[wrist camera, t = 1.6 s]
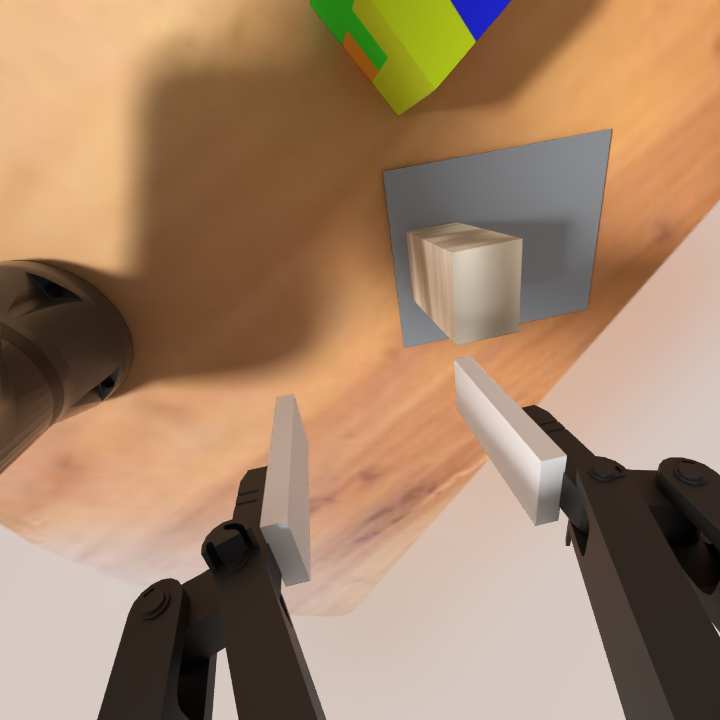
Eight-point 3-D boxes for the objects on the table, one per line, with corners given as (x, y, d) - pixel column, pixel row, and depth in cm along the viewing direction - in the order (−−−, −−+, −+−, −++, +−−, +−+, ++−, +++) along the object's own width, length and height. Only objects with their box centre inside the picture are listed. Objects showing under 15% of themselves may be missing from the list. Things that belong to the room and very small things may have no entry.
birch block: (412, 299, 38) (456, 345, 27) (405, 231, 35) (451, 252, 24) (457, 289, 38) (518, 332, 28) (455, 221, 35) (522, 238, 24)
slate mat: (403, 346, 41) (404, 347, 41) (382, 171, 33) (383, 171, 32) (585, 307, 42) (587, 308, 42) (608, 129, 34) (611, 128, 34)
